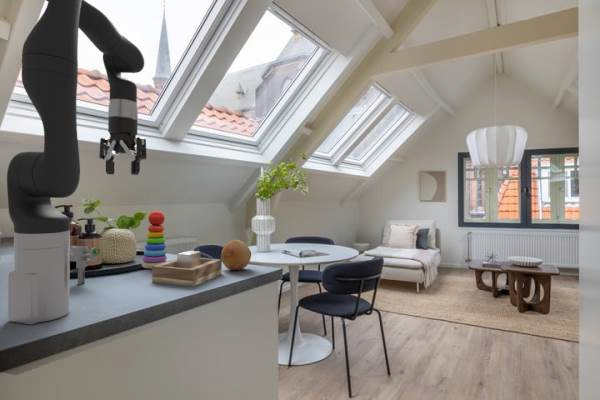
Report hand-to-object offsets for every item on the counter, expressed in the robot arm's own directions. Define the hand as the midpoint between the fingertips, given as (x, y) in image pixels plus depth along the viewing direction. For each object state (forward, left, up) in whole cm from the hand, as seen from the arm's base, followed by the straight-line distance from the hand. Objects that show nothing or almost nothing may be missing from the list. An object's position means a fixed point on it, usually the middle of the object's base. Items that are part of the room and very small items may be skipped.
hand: (122, 174), depth 104 cm
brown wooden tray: (+8, -17, -30) cm, 35 cm away
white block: (+8, -17, -29) cm, 34 cm away
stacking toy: (+17, +2, -30) cm, 35 cm away
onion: (+23, -25, -30) cm, 46 cm away
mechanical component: (-8, +6, -30) cm, 32 cm away
